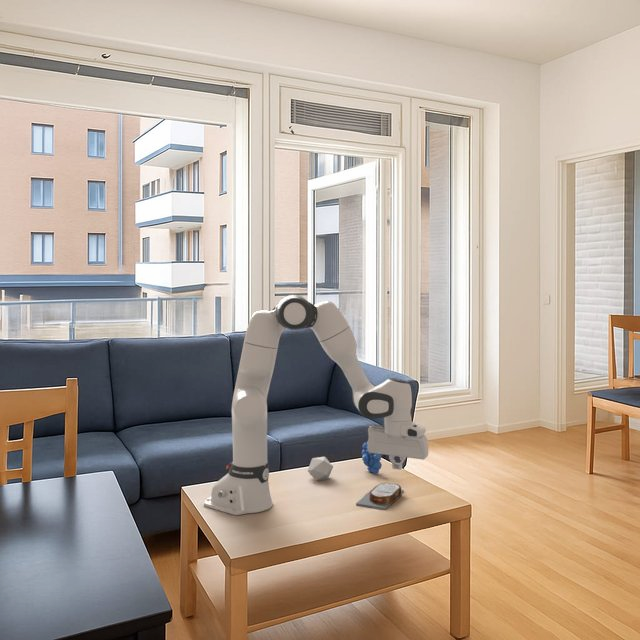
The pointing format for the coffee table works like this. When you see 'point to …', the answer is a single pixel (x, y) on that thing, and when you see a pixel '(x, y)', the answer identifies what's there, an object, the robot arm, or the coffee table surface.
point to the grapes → (371, 459)
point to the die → (320, 468)
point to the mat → (368, 503)
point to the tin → (385, 493)
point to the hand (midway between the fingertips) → (397, 468)
